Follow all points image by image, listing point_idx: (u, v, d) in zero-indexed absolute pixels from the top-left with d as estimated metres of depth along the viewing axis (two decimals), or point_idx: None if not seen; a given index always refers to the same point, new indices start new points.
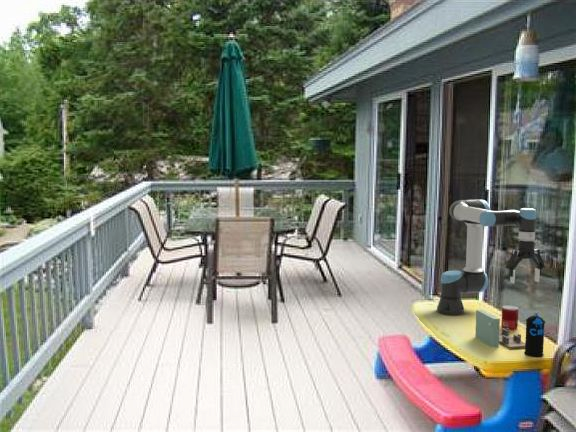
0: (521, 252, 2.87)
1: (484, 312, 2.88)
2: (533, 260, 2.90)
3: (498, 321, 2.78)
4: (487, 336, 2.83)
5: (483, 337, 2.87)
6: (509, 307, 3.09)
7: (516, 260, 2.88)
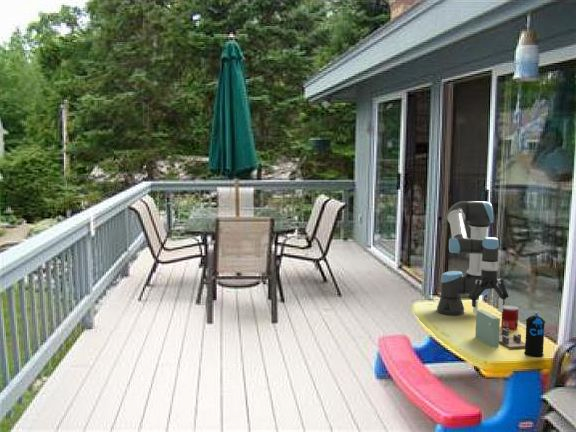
0: (484, 282, 2.81)
1: (484, 312, 2.88)
2: (496, 290, 2.84)
3: (498, 321, 2.78)
4: (487, 336, 2.83)
5: (483, 337, 2.87)
6: (509, 307, 3.09)
7: (479, 290, 2.83)
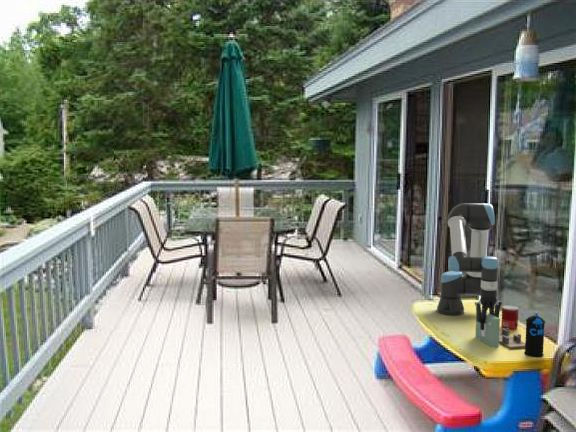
0: (483, 301, 2.83)
1: None
2: (491, 311, 2.85)
3: (498, 321, 2.78)
4: (487, 336, 2.83)
5: (483, 337, 2.87)
6: (509, 307, 3.09)
7: (483, 312, 2.84)
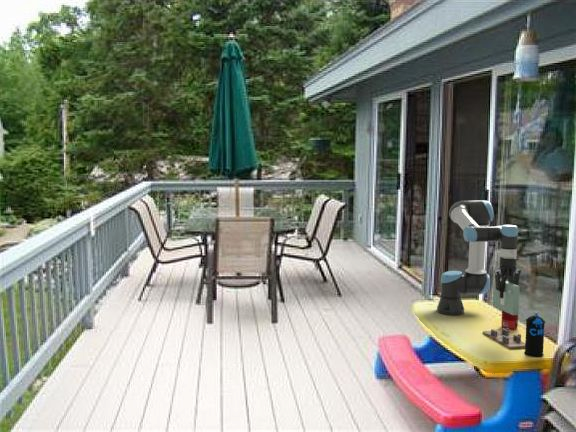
0: (503, 270, 2.83)
1: None
2: (510, 279, 2.85)
3: (518, 288, 2.78)
4: (507, 304, 2.83)
5: (502, 306, 2.87)
6: None
7: (502, 280, 2.85)
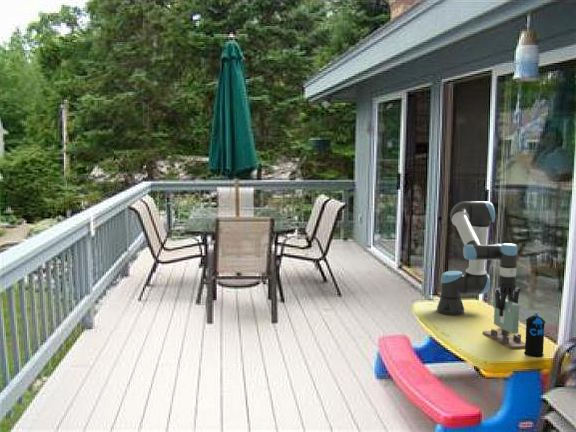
0: (502, 288, 2.84)
1: None
2: (510, 297, 2.86)
3: (517, 307, 2.79)
4: (507, 322, 2.84)
5: (502, 324, 2.88)
6: None
7: (502, 298, 2.86)
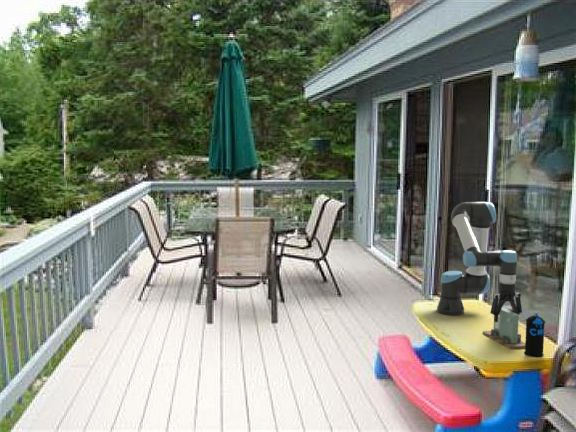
0: (502, 295, 2.85)
1: (502, 308, 2.90)
2: (512, 304, 2.87)
3: (517, 317, 2.80)
4: (506, 332, 2.85)
5: (501, 333, 2.89)
6: (509, 307, 3.09)
7: (499, 304, 2.86)
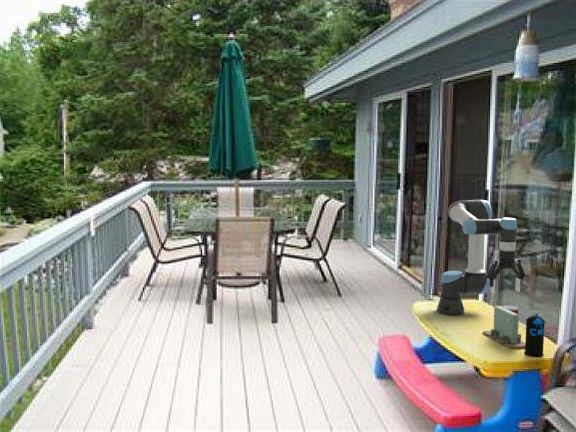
0: (501, 262, 2.85)
1: (502, 308, 2.90)
2: (514, 270, 2.87)
3: (517, 317, 2.80)
4: (506, 332, 2.85)
5: (501, 333, 2.89)
6: (509, 307, 3.09)
7: (496, 270, 2.86)
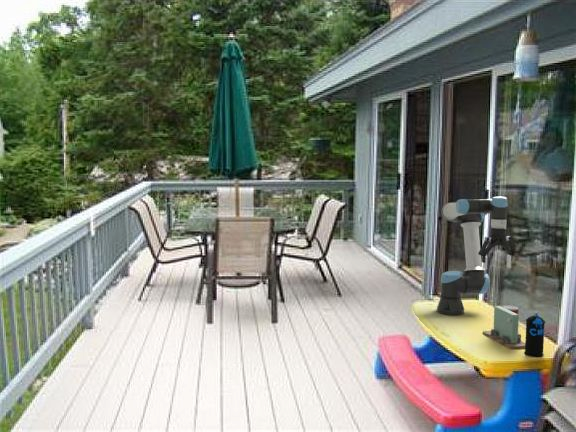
0: (493, 239, 2.98)
1: (502, 308, 2.90)
2: (505, 247, 3.00)
3: (517, 317, 2.80)
4: (506, 332, 2.85)
5: (501, 333, 2.89)
6: (509, 307, 3.09)
7: (488, 247, 2.99)
